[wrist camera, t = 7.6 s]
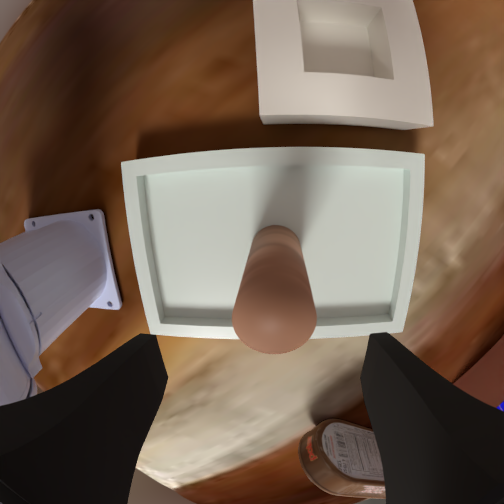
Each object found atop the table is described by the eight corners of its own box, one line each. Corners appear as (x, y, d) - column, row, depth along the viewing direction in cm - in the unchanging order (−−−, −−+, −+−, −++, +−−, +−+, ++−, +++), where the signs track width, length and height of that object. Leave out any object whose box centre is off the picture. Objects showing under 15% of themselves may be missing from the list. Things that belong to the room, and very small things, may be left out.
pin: (252, 272, 18) (235, 353, 10) (249, 225, 17) (228, 283, 10) (300, 271, 18) (313, 353, 10) (300, 224, 17) (319, 282, 9)
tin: (295, 421, 24) (296, 493, 16) (315, 404, 23) (322, 481, 15) (390, 447, 26) (403, 500, 18) (408, 433, 25) (425, 488, 17)
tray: (160, 319, 21) (150, 334, 19) (135, 160, 17) (121, 162, 15) (393, 317, 19) (402, 332, 18) (410, 153, 16) (424, 154, 14)
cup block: (263, 124, 16) (259, 115, 12) (256, 3, 13) (250, -28, 9) (403, 130, 15) (433, 126, 11) (387, 12, 12) (408, -12, 8)
